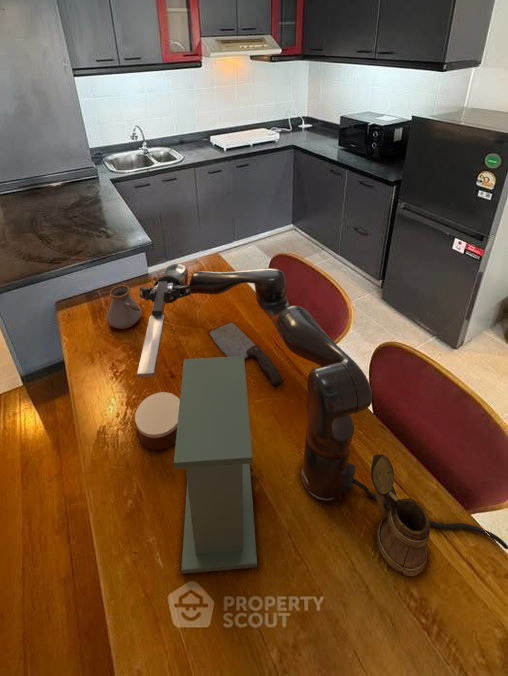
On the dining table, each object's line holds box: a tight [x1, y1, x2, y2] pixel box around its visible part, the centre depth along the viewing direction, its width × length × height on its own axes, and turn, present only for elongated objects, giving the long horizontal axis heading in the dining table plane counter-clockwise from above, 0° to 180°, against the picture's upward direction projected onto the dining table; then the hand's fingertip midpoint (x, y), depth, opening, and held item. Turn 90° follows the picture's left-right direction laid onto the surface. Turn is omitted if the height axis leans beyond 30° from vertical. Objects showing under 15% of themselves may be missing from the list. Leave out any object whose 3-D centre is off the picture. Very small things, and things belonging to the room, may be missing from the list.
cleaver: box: [208, 321, 283, 387], centre depth 117 cm, size 30×10×2 cm, turn 37°
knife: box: [136, 281, 168, 378], centre depth 83 cm, size 27×3×2 cm, turn 4°
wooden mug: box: [370, 453, 431, 577], centre depth 72 cm, size 9×14×18 cm, turn 41°
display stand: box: [173, 356, 258, 575], centre depth 73 cm, size 21×14×32 cm, turn 4°
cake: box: [134, 391, 180, 451], centre depth 94 cm, size 11×11×6 cm
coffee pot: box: [106, 284, 144, 330], centre depth 124 cm, size 21×12×15 cm, turn 39°
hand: (159, 296), depth 89 cm, fingers closed on knife, 2 cm apart
